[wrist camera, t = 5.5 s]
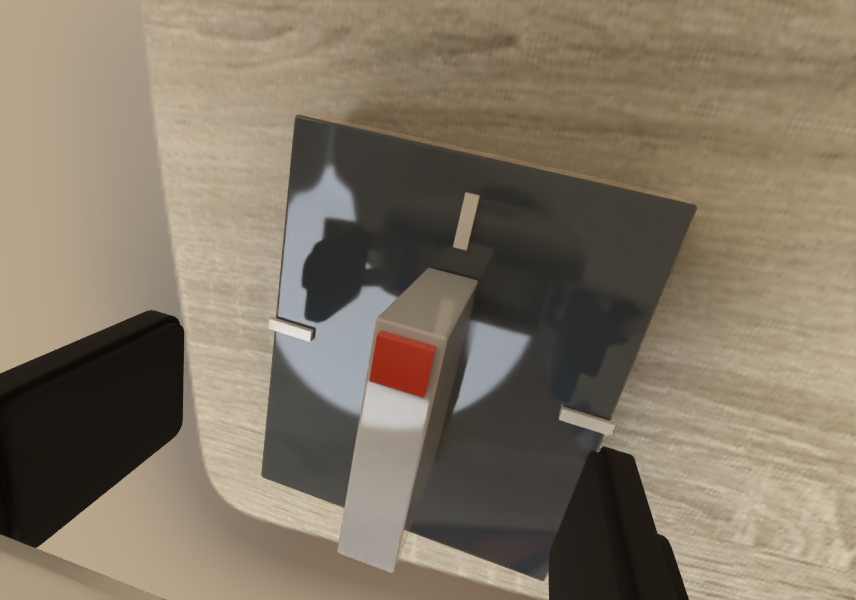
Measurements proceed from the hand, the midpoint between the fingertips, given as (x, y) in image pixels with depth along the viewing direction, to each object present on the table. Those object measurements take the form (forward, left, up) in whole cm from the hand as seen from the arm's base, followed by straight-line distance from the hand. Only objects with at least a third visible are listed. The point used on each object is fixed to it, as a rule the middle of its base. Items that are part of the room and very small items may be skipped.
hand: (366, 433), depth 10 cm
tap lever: (+1, 0, -3) cm, 3 cm away
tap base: (+1, 0, -7) cm, 6 cm away
